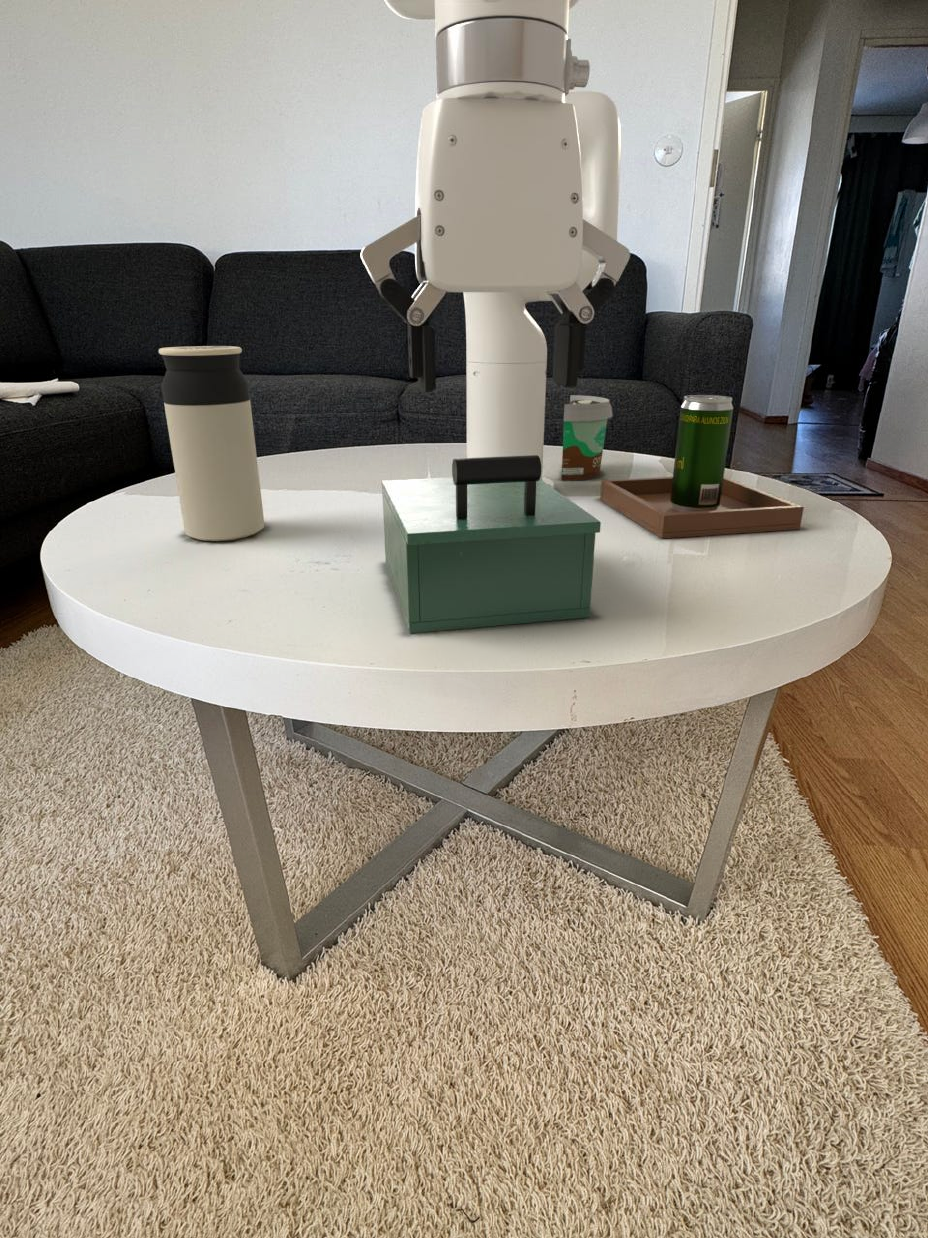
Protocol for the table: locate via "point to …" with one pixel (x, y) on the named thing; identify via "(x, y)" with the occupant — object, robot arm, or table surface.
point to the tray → (734, 515)
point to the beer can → (701, 452)
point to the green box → (489, 579)
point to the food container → (584, 436)
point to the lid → (484, 503)
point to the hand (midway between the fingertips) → (496, 387)
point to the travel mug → (212, 442)
